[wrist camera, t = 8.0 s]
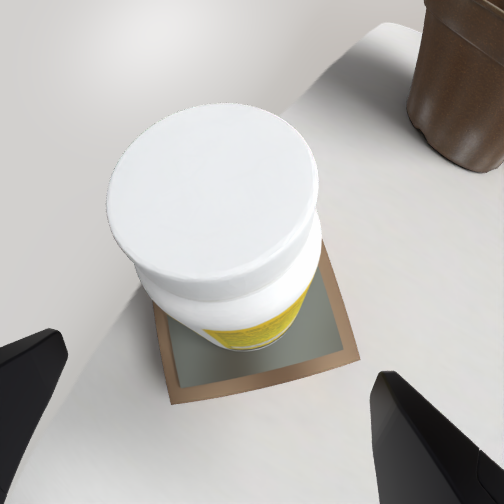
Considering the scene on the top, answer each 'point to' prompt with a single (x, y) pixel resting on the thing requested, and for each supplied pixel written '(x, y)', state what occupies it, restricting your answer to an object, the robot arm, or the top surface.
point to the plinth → (265, 359)
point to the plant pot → (461, 82)
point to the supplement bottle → (220, 220)
